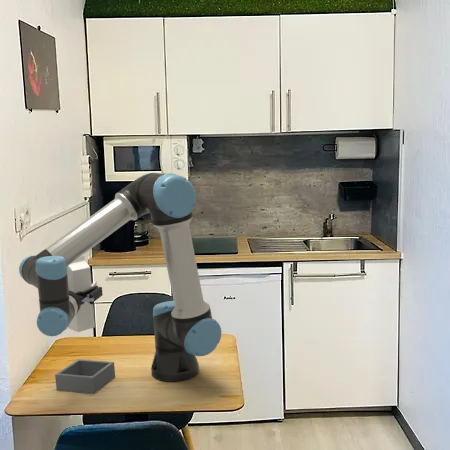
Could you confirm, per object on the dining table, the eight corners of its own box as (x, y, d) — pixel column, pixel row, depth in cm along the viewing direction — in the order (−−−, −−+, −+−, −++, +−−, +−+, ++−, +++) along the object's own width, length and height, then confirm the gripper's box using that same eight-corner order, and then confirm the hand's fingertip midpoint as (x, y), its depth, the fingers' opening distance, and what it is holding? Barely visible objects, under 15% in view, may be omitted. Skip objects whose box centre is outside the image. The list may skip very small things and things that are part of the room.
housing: (115, 377, 197) (114, 362, 196) (94, 394, 185) (92, 378, 184) (79, 373, 201) (78, 359, 200) (56, 390, 189) (55, 374, 188)
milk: (95, 327, 190) (90, 256, 187) (77, 332, 186) (71, 260, 183) (85, 323, 194) (79, 254, 191) (67, 328, 190) (61, 257, 187)
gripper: (27, 322, 170) (48, 299, 193) (104, 318, 171) (116, 296, 193) (24, 295, 169) (45, 276, 192) (102, 291, 170) (114, 272, 192)
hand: (81, 286), depth 192 cm, fingers closed on milk, 8 cm apart
